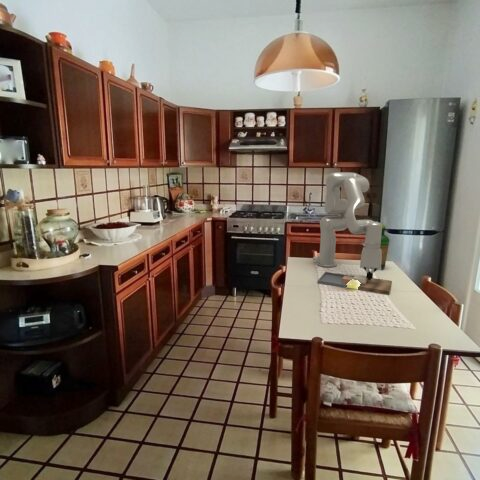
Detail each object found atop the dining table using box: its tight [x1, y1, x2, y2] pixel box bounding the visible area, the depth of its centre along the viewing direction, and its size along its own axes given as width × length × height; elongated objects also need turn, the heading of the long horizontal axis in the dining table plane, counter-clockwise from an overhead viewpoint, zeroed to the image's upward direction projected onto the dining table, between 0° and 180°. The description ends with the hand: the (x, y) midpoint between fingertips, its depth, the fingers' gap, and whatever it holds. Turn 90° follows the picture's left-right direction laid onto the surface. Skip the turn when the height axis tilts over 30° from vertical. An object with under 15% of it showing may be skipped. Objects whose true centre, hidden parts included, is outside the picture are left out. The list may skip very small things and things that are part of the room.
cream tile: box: [354, 274, 367, 284], centre depth 183 cm, size 6×6×2 cm
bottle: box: [380, 223, 390, 271], centre depth 212 cm, size 11×11×28 cm
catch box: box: [316, 271, 362, 291], centre depth 188 cm, size 22×18×2 cm
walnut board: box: [359, 277, 393, 296], centre depth 180 cm, size 14×18×2 cm
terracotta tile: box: [342, 275, 354, 284], centre depth 186 cm, size 6×6×2 cm
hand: (369, 279), depth 181 cm, fingers closed
